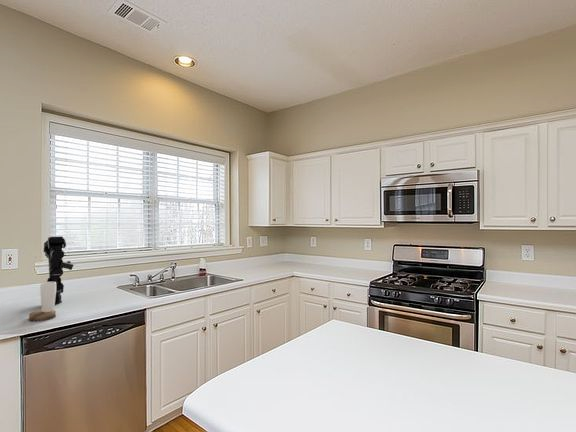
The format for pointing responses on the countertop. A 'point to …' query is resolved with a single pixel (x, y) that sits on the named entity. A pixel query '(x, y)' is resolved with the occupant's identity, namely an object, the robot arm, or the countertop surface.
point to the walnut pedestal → (41, 315)
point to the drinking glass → (48, 296)
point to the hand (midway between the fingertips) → (55, 285)
